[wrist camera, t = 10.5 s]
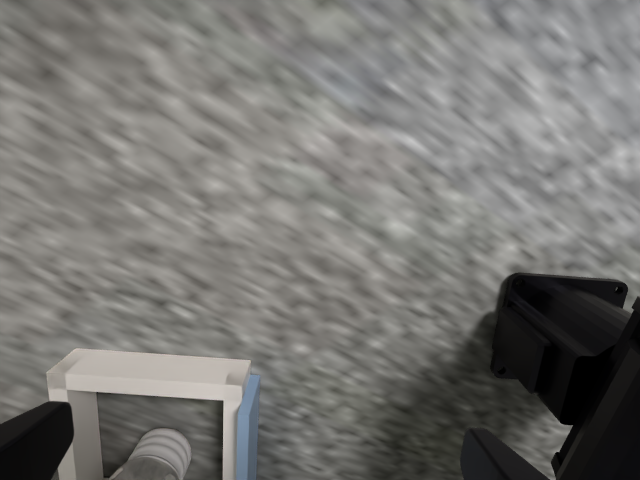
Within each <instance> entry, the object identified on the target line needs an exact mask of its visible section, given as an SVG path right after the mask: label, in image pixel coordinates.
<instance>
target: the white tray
mask: <svg viewBox="0 0 640 480" xmlns="http://www.w3.org/2000/svg"><path fill="white" fill-rule="evenodd" d="M250 371H251V360H240V359H225V358H211V357H197V356H182V355H168V354H153V353H139V352H125V351H110V350H96V349H81V348H76V349H74V350H73V351H72V352H71V353H69V354H68V355H67V356H66V357H65V358H63V359H62V360H61V361H60V362H58V363H57V364H56V365H55V366H54V367H52V368H51V369H50V370H49V371H47V372H46V375H47V383H48V391H49V399H50V401H63V402H68V403H70V405H71V407H72V415H73V424H74V438H73V441H72V443H71V446H70V447H69V449H68V451H67V453H66V454H65V456H64V458H63V460H62V461H61V463H60V465H59V467H58V473H59V480H108V479H109V478H104V477H103V465H102V454H101V442H100V430H99V419H98V407H97V395H96V392H106V393H120V394H135V395H150V396H164V397H179V398H194V399H208V400H223V401H224V412H223V480H256V470H257V444H258V418H259V392H260V375H250Z"/></svg>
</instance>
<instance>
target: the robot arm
mask: <svg viewBox="0 0 640 480" xmlns="http://www.w3.org/2000/svg"><path fill="white" fill-rule="evenodd" d="M520 279H522V282H521V284H519V285H516V283H517V281H518V280H520ZM616 287H618V289H617V290H616V291H615V292H614V290H615V288H616ZM627 292H628V287H627V285H626V284H625V283H623V282H621V281H619V280H614V279H600V278H586V277H572V276H559V275H545V274H531V273H515V274H513V275H511V276H510V278H509V280H508V285H507V290H506V294H505V299H504V304H503V308H502V309H501V310H500V311H499V316H498V321H497V325H496V330H495V335H494V340H493V345H492V349H493V350H494V352H493V356H492V361H491V366H490V369H491V371H492V373H493V374H494V375H495V376H496V377H498V378H506V379H518V380H519V381H520V382H521V383H522V385H523V386H524V387H525V388H526V389H527V391H528V392H529V393H531V394H536V395H537V396H538V397H539V398H540V399H541V401H542V402H543V403H544V404H545V405H546V406H547V408H548V409H549V410H550V411H551V412H552V413H553V415H554V416H555V417H556V418H557V419H558V420H559V422H560V423H561V424H564V425H573V427H572V429H571V431H570V433H569V435H568V436H567V438H566V440H565V442H564V444H563V446H562V448H561V450H560V452H556V453H555V455H554V457H553V459H552V461H551V464H552V467H553V470H554V473H555V476H556V480H640V297H639V296H637V298H636V300H635V302H634V304H633V306H632V308H633V309H634V311H633V313H632V314H631V313H629V312H627V311H625V310H624V309H623V305H624V302H625V298H626V295H627ZM500 367H503V368H502V369H501V370H498V368H500ZM73 438H74V424H73V415H72V407H71V405H70V403H68V402H63V401H49V402H46V403H44V404H42V405H40V406H38V407H36V408H34V409H32V410H29V411H27V412H25V413H23V414H21V415H19V416H17V417H15V418H13V419H10V420H8V421H6V422H4V423H2V424H0V480H51V479H52V477H53V475H54V474H55V472H56V470H57V468H58V467H59V465H60V463H61V461H62V460H63V458H64V456H65V454H66V453H67V451H68V449H69V447H70V446H71V443H72V441H73ZM460 465H461V470H462V474H463V478H464V480H550V479H548V478H547V477H546V476H545V475H543V474H542V473H541V472H540V471H538V470H537V469H536V468H535V467H533V466H532V465H531V464H530V463H528V462H527V461H526V460H525V459H523V458H522V457H521V456H520V455H518V454H517V453H516V452H515V451H513V450H512V449H511V448H510V447H508V446H507V445H506V444H504V443H503V442H502V441H501V440H499V439H498V438H497V437H496V436H494V435H493V434H492V433H491V432H489V431H488V430H487V429H484V428H468V429H467V430H466V432H465V436H464V441H463V446H462V451H461V456H460Z"/></svg>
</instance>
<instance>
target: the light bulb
mask: <svg viewBox="0 0 640 480" xmlns="http://www.w3.org/2000/svg"><path fill="white" fill-rule="evenodd" d="M191 456H192V451H191V447H190V444H189V442H188V441H187V439H186V438H185V437H184V435H183V434H182V433H180V432H179V431H178V430H175V429H171V428H159V429H154V430H151V431H149V432H148V433H146V434H145V435H144V436H143V437H142V438H141V439H140V441H139V443H138V445H137V446H136V447H135V449H134V451H133V453H132V454H131V456H130V457H129V459H128V462H126V463H124V464H123V465H122V466H120V467H119V468H118V469H117V470H116V471H115V472H114V473H113V474H112V476H111V477H110V478H109V479H108V480H183V478H184V475H185V473H186V471H187V468H188V466H189V464H190V461H191Z"/></svg>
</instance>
